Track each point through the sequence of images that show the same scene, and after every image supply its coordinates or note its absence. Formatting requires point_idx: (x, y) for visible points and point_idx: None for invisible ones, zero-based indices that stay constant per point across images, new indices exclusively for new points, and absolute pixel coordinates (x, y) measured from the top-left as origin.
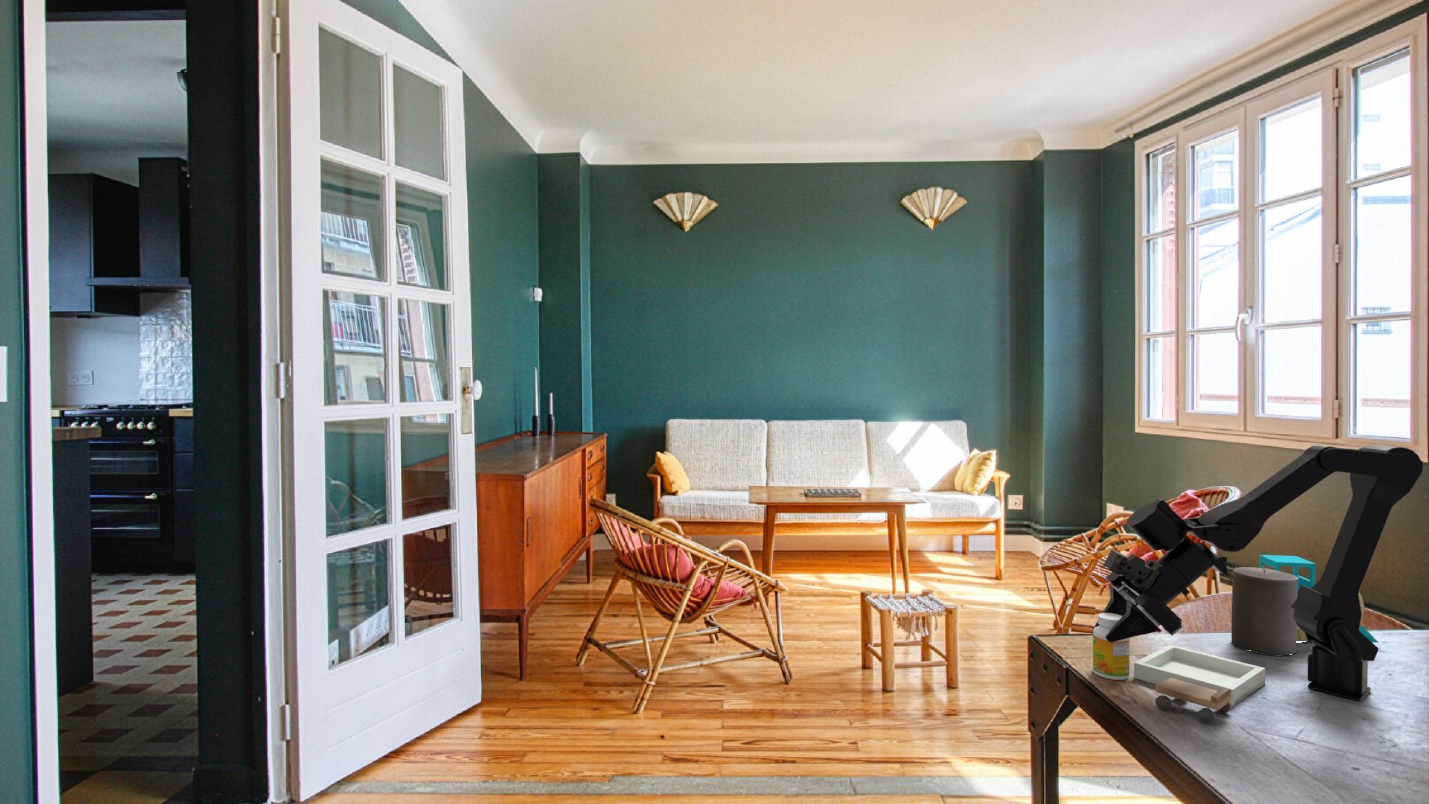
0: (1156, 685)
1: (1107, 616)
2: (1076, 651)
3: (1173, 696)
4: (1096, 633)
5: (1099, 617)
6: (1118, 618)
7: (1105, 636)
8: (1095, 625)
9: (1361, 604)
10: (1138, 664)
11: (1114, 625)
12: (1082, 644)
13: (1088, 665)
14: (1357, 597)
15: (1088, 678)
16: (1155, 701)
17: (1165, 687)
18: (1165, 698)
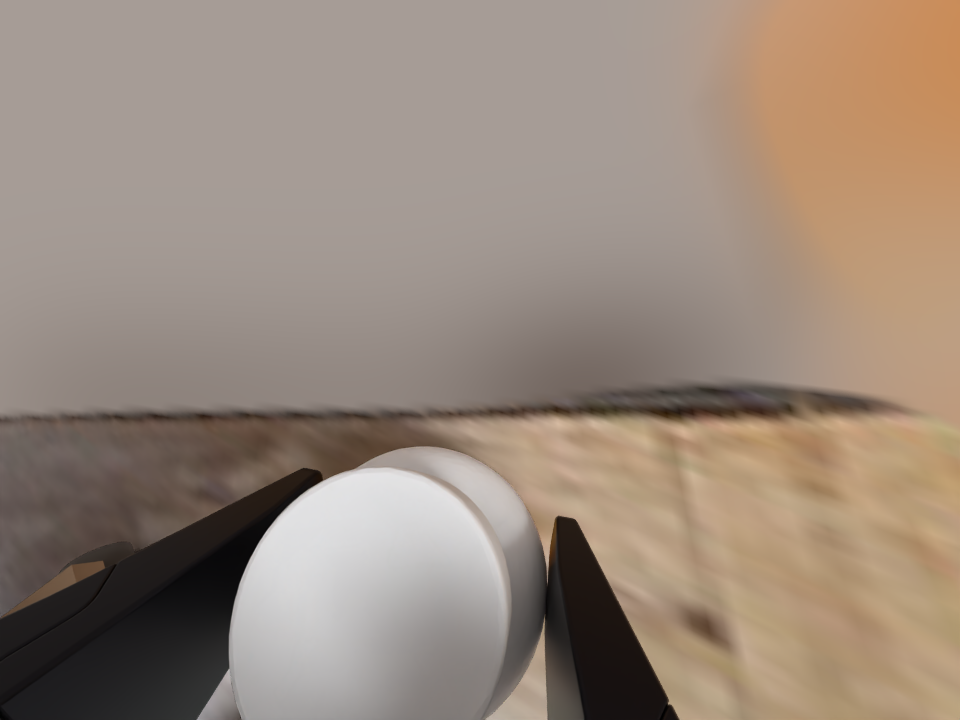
0: (72, 567)
1: (365, 561)
2: (774, 527)
3: None
4: (403, 448)
5: (375, 466)
6: (270, 661)
7: (314, 470)
8: (567, 521)
9: None
10: None
11: (225, 539)
12: (925, 624)
13: (572, 495)
14: None
15: (426, 426)
16: (120, 542)
17: (39, 598)
18: (60, 571)
